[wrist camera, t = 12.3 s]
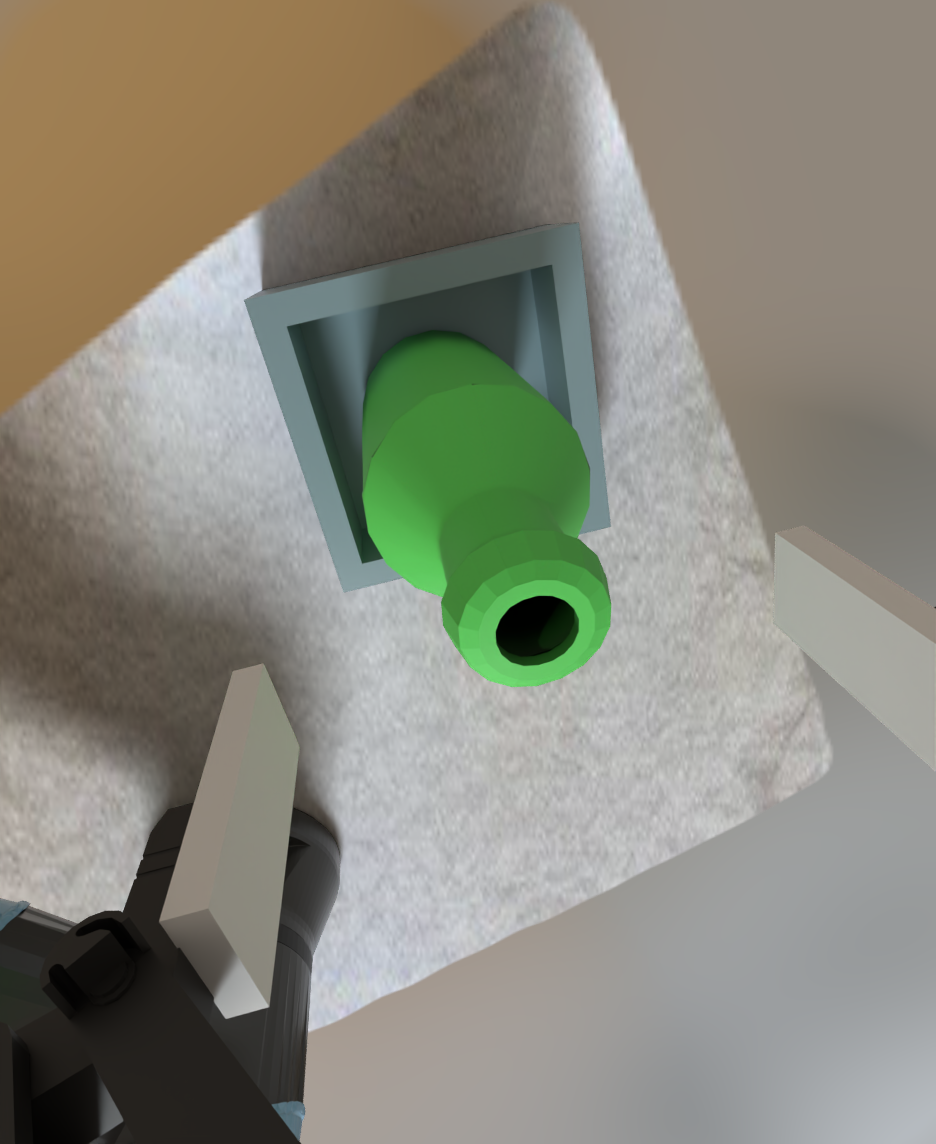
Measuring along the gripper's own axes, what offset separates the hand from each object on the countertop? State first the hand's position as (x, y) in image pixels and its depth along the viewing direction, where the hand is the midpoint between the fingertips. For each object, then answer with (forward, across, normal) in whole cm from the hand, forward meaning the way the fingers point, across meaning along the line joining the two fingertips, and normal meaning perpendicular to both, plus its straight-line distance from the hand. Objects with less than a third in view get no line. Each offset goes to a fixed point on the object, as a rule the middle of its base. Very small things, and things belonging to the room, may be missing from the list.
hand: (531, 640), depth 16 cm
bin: (+26, 0, 0) cm, 26 cm away
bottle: (+25, 0, 0) cm, 25 cm away
